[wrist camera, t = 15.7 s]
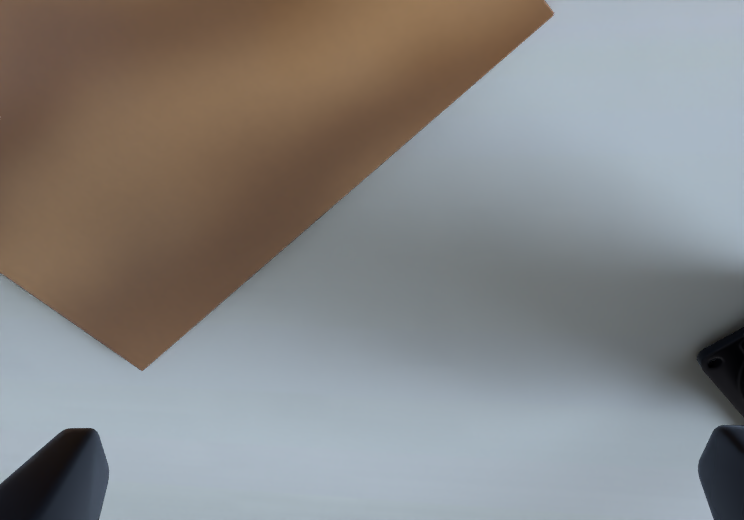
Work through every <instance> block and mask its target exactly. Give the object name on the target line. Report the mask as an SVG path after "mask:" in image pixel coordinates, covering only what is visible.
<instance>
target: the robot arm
mask: <svg viewBox="0 0 744 520" xmlns="http://www.w3.org/2000/svg"><path fill="white" fill-rule="evenodd" d="M715 358H716V359H715ZM712 359H715V360H713V361H711V360H712ZM697 361H698V363H699V365H700V366H701V368H702V369H703V371H704V372H705V373H706V374H707V375H708V376H709V378H710V379H711V380H712V381H713V382H714V383H715V385H716V386H717V387H718V388H719V389H720V390H721V391H722V393H723V394H724V395H725V396H726V397H727V398H728V399H729V401H730V402H731V403H732V404H733V405H734V406H735V408H736V409H737V410H738V411H739V412H740V413H741V414H742V416H743V417H744V327H743V328H741V329H739V330H738V331H736V332H734V333H732V334H730V335H728V336H727V337H725V338H723V339H721V340H719V341H717V342H716V343H714V344H712V345H710V346H708V347H706V348H705V349H703V350H702V351H701V352H700V353H699V354H698V356H697ZM698 473H699V478H700V481H701V484H702V487H703V490H704V493H705V495H706V498H707V501H708V504H709V507H710V510H711V513H712V516H713V518H714V520H744V425H721V426H718V427H717V428H715V429H714V431H713V432H712V435H711V437H710V439H709V441H708V443H707V445H706V447H705V449H704V451H703V453H702V455H701V458H700V460H699V464H698ZM108 479H109V467H108V463H107V459H106V456H105V453H104V450H103V447H102V443H101V440H100V437H99V434H98V432H97V431H96V430H94V429H91V428H70V429H65V430H63V431H62V432H60V433H59V434H58V435H57V436H55V437H54V438H53V439H52V440H51V441H50V442H48V443H47V444H46V445H45V446H44V447H43V448H41V449H40V450H39V451H38V452H37V453H36V454H35V455H33V456H32V457H31V458H30V459H29V460H28V461H26V462H25V463H24V464H23V465H22V466H21V467H19V468H18V469H17V470H16V471H15V472H14V473H13V474H11V475H10V476H9V477H8V478H7V479H6V480H4V481H3V482H2V483H1V484H0V520H99V517H100V513H101V509H102V505H103V501H104V497H105V493H106V489H107V485H108Z"/></svg>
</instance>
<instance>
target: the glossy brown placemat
mask: <svg viewBox="0 0 744 520" xmlns="http://www.w3.org/2000/svg"><path fill="white" fill-rule="evenodd" d="M553 15H554V12H553V11H552V9H551V8H550V7H549V5H548V4H547V3H546V1H545V0H0V273H1V274H3V275H4V276H6V277H7V278H9V279H10V280H12V281H13V282H14V283H16V284H17V285H19V286H20V287H22V288H23V289H24V290H26V291H27V292H29V293H30V294H32V295H33V296H35V297H36V298H37V299H39V300H40V301H42V302H43V303H45V304H46V305H48V306H49V307H50V308H52V309H53V310H55V311H56V312H58V313H59V314H60V315H62V316H63V317H65V318H66V319H68V320H69V321H71V322H72V323H73V324H75V325H76V326H78V327H79V328H81V329H82V330H84V331H85V332H86V333H88V334H89V335H91V336H92V337H94V338H95V339H96V340H98V341H99V342H101V343H102V344H104V345H105V346H107V347H108V348H109V349H111V350H112V351H114V352H115V353H117V354H118V355H120V356H121V357H122V358H124V359H125V360H127V361H128V362H130V363H131V364H132V365H134V366H135V367H137V368H138V369H140V370H141V371H143V370H144V369H145V368H147V367H148V366H149V365H150V364H151V363H152V362H153V361H155V360H156V359H157V358H158V357H159V356H160V355H162V354H163V353H164V352H165V351H166V350H167V349H169V348H170V347H171V346H172V345H173V344H174V343H175V342H177V341H178V340H179V339H180V338H181V337H182V336H184V335H185V334H186V333H187V332H188V331H189V330H190V329H192V328H193V327H194V326H195V325H196V324H197V323H199V322H200V321H201V320H202V319H203V318H204V317H206V316H207V315H208V314H209V313H210V312H211V311H212V310H214V309H215V308H216V307H217V306H218V305H219V304H221V303H222V302H223V301H224V300H225V299H226V298H227V297H229V296H230V295H231V294H232V293H233V292H234V291H236V290H237V289H238V288H239V287H240V286H241V285H243V284H244V283H245V282H246V281H247V280H248V279H249V278H251V277H252V276H253V275H254V274H255V273H256V272H258V271H259V270H260V269H261V268H262V267H263V266H264V265H266V264H267V263H268V262H269V261H270V260H271V259H273V258H274V257H275V256H276V255H277V254H278V253H279V252H281V251H282V250H283V249H284V248H285V247H286V246H288V245H289V244H290V243H291V242H292V241H293V240H295V239H296V238H297V237H298V236H299V235H300V234H301V233H303V232H304V231H305V230H306V229H307V228H308V227H310V226H311V225H312V224H313V223H314V222H315V221H316V220H318V219H319V218H320V217H321V216H322V215H323V214H325V213H326V212H327V211H328V210H329V209H330V208H332V207H333V206H334V205H335V204H336V203H337V202H338V201H340V200H341V199H342V198H343V197H344V196H345V195H347V194H348V193H349V192H350V191H351V190H352V189H353V188H355V187H356V186H357V185H358V184H359V183H360V182H362V181H363V180H364V179H365V178H366V177H367V176H369V175H370V174H371V173H372V172H373V171H374V170H375V169H377V168H378V167H379V166H380V165H381V164H382V163H384V162H385V161H386V160H387V159H388V158H389V157H390V156H392V155H393V154H394V153H395V152H396V151H397V150H399V149H400V148H401V147H402V146H403V145H404V144H405V143H407V142H408V141H409V140H410V139H411V138H412V137H414V136H415V135H416V134H417V133H418V132H419V131H421V130H422V129H423V128H424V127H425V126H426V125H427V124H429V123H430V122H431V121H432V120H433V119H434V118H436V117H437V116H438V115H439V114H440V113H441V112H442V111H444V110H445V109H446V108H447V107H448V106H449V105H451V104H452V103H453V102H454V101H455V100H456V99H458V98H459V97H460V96H461V95H462V94H463V93H464V92H466V91H467V90H468V89H469V88H470V87H471V86H473V85H474V84H475V83H476V82H477V81H478V80H479V79H481V78H482V77H483V76H484V75H485V74H486V73H488V72H489V71H490V70H491V69H492V68H493V67H495V66H496V65H497V64H498V63H499V62H500V61H501V60H503V59H504V58H505V57H506V56H507V55H508V54H510V53H511V52H512V51H513V50H514V49H515V48H516V47H518V46H519V45H520V44H521V43H522V42H523V41H525V40H526V39H527V38H528V37H529V36H530V35H531V34H533V33H534V32H535V31H536V30H537V29H538V28H540V27H541V26H542V25H543V24H544V23H545V22H547V21H548V20H549V19H550V18H551V17H552V16H553Z"/></svg>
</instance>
